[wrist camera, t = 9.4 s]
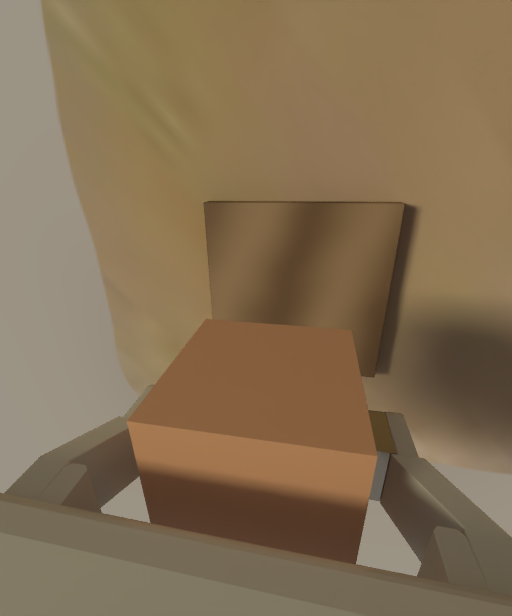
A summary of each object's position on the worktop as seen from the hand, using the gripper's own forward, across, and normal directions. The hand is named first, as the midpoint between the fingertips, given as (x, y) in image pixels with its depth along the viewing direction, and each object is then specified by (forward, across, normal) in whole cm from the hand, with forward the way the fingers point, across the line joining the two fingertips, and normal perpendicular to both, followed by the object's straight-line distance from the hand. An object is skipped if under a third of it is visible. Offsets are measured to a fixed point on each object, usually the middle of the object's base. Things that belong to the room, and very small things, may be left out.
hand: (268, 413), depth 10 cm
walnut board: (+11, 0, 0) cm, 11 cm away
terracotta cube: (+2, 0, 0) cm, 2 cm away
